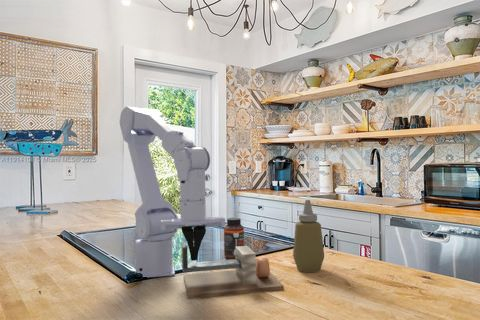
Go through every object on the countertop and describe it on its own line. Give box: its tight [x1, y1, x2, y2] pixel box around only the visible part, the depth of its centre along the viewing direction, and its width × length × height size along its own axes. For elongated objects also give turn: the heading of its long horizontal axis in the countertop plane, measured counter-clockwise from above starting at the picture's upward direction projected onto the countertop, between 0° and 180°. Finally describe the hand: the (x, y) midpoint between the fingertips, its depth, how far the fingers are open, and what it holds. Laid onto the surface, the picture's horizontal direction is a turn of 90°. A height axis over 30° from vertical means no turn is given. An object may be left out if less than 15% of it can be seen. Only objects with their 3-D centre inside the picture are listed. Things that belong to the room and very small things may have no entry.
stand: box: [183, 245, 285, 299], centre depth 87 cm, size 21×14×8 cm, turn 102°
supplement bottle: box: [223, 217, 245, 259], centre depth 110 cm, size 6×6×11 cm
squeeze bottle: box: [292, 199, 325, 273], centre depth 96 cm, size 8×8×18 cm
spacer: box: [256, 257, 271, 278], centre depth 89 cm, size 4×4×2 cm
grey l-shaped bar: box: [180, 242, 241, 273], centre depth 86 cm, size 15×5×6 cm, turn 102°
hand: (194, 259), depth 85 cm, fingers closed
